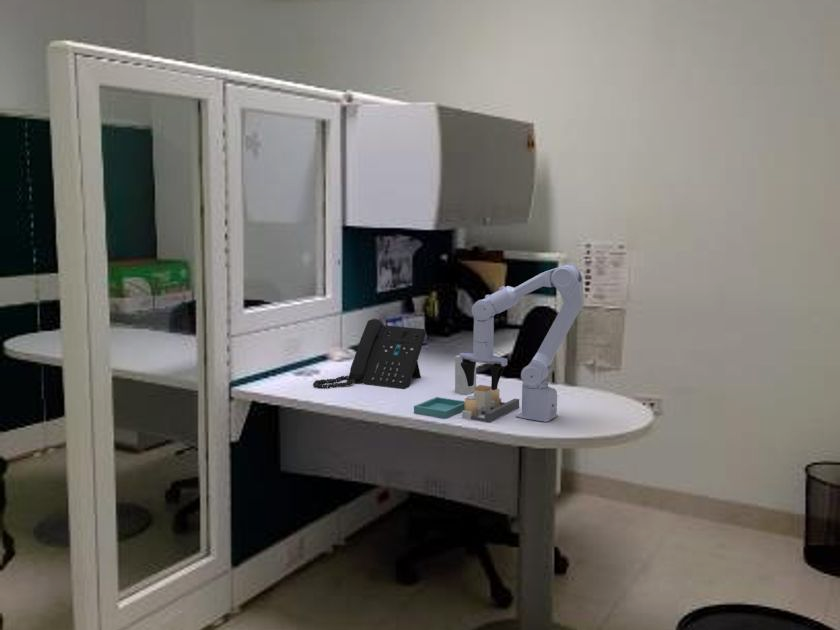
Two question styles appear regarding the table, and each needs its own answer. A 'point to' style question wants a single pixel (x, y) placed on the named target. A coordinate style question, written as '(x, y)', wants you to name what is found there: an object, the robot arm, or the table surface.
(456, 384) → the skincare box
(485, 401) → the block
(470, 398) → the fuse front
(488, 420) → the holder block
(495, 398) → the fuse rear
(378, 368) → the office phone
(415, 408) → the tray
